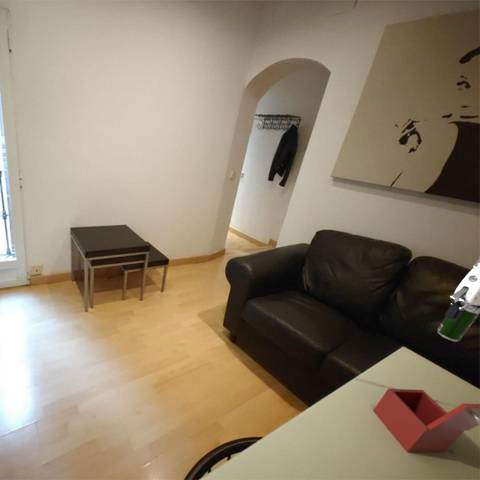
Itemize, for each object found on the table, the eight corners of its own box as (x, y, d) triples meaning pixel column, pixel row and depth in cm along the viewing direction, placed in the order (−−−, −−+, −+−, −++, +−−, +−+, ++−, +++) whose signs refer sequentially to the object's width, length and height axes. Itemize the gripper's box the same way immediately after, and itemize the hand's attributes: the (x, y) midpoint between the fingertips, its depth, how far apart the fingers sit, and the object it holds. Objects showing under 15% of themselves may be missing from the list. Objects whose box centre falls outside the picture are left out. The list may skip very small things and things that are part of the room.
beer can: (439, 337, 83) (461, 305, 79) (433, 327, 88) (453, 297, 83) (462, 344, 81) (485, 313, 76) (454, 334, 85) (476, 304, 81)
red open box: (372, 410, 73) (388, 388, 69) (405, 411, 74) (422, 389, 70) (406, 452, 63) (426, 429, 60) (444, 452, 65) (465, 429, 61)
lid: (462, 403, 54) (489, 431, 50) (504, 404, 56) (533, 432, 52) (426, 426, 60) (447, 452, 56) (465, 426, 61) (488, 452, 57)
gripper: (486, 272, 70) (448, 326, 77) (537, 277, 73) (497, 329, 79) (454, 259, 77) (423, 309, 84) (503, 264, 79) (468, 313, 86)
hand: (459, 318), depth 82 cm, fingers closed on beer can, 5 cm apart
